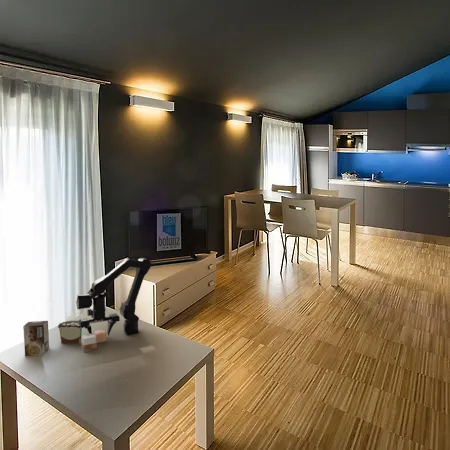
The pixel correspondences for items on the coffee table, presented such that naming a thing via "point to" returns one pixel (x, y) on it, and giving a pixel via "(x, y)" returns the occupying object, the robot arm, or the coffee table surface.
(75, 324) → the food container
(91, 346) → the walnut block
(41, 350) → the coffee box
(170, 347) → the coffee table surface
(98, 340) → the clay block
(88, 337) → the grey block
